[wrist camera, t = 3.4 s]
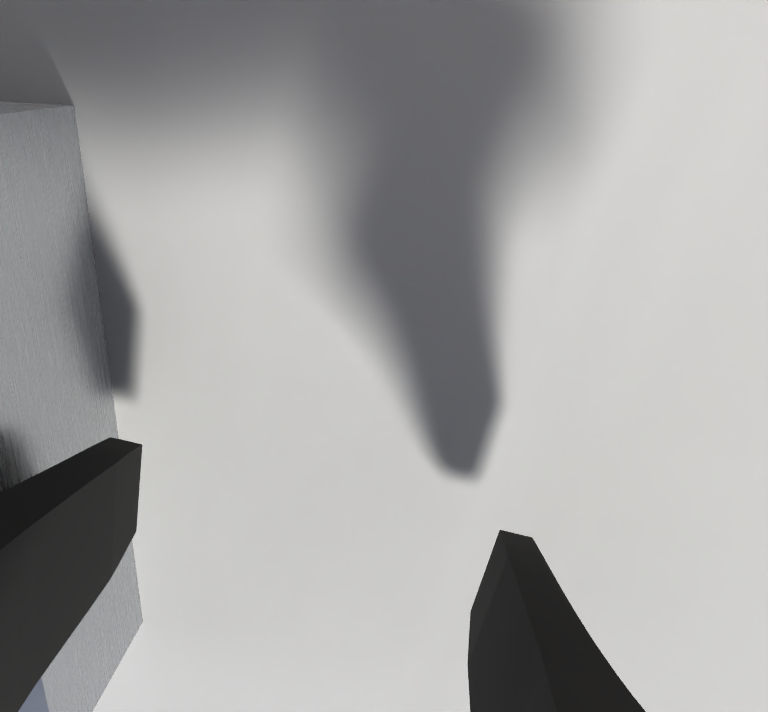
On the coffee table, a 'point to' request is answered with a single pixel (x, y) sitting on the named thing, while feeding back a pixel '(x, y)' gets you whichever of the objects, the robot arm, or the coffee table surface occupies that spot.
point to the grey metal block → (56, 366)
